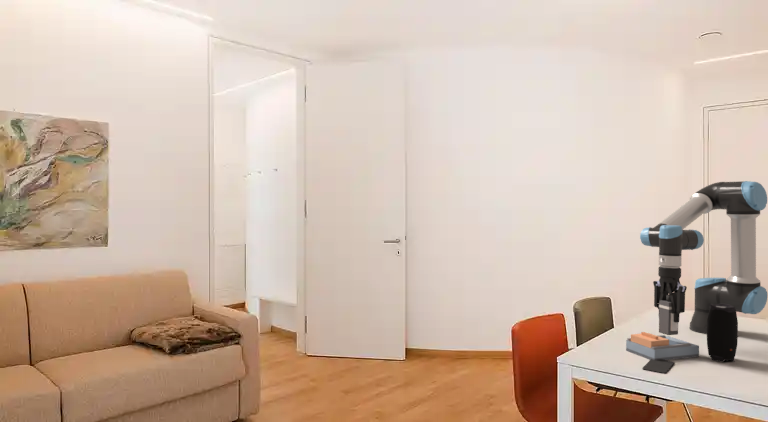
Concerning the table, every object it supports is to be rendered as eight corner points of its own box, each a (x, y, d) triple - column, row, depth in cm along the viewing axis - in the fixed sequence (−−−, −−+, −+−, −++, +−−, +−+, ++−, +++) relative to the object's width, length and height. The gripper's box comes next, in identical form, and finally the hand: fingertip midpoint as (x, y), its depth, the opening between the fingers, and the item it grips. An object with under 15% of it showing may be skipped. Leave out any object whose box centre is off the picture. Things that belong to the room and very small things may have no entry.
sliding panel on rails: (668, 346, 212) (668, 334, 212) (698, 356, 199) (699, 343, 198) (626, 350, 206) (626, 337, 206) (654, 361, 193) (654, 347, 193)
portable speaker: (740, 364, 190) (741, 308, 189) (710, 361, 193) (711, 306, 192) (732, 356, 198) (733, 303, 198) (703, 354, 201) (704, 302, 200)
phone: (641, 368, 184) (652, 357, 195) (641, 370, 184) (651, 360, 195) (665, 373, 179) (675, 361, 191) (665, 375, 179) (674, 364, 191)
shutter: (648, 339, 207) (648, 330, 206) (668, 346, 197) (669, 336, 197) (630, 341, 204) (630, 331, 204) (651, 348, 195) (651, 338, 195)
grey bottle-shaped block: (668, 331, 206) (669, 293, 205) (678, 334, 201) (679, 295, 201) (658, 332, 205) (659, 294, 204) (668, 335, 200) (669, 296, 200)
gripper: (643, 264, 210) (642, 324, 210) (681, 270, 193) (679, 335, 193) (659, 263, 212) (658, 323, 212) (697, 269, 195) (696, 333, 196)
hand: (668, 328), depth 203 cm, fingers closed on grey bottle-shaped block, 4 cm apart
